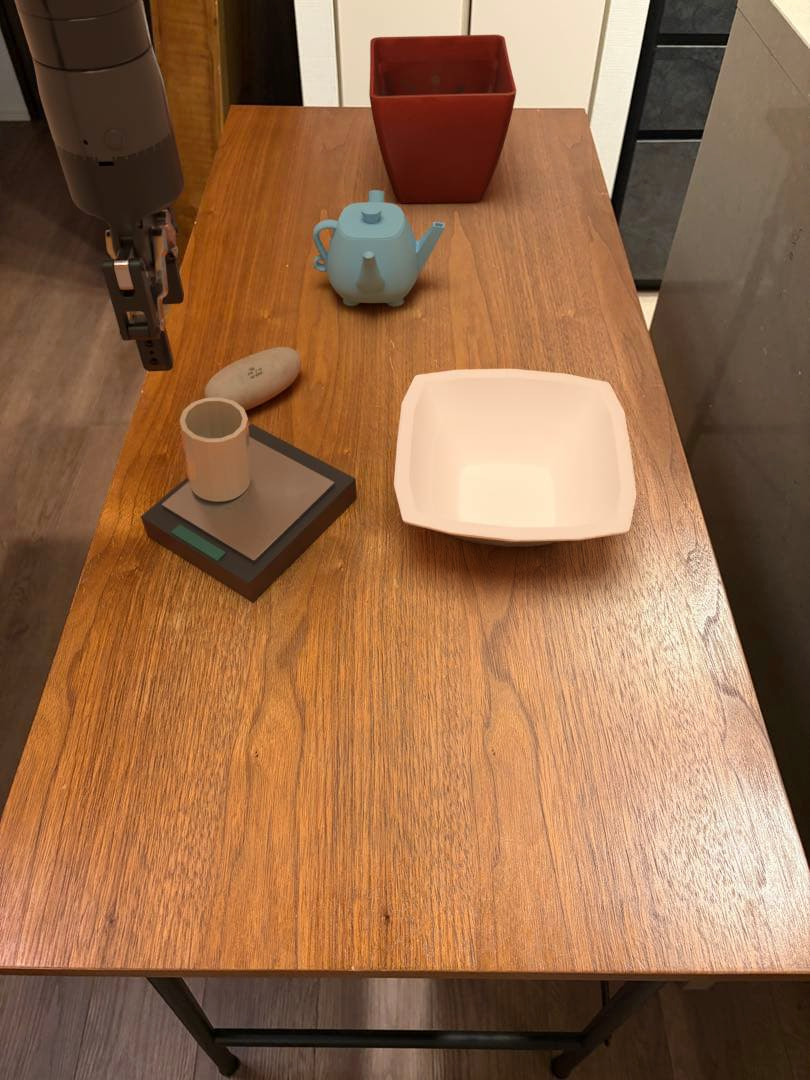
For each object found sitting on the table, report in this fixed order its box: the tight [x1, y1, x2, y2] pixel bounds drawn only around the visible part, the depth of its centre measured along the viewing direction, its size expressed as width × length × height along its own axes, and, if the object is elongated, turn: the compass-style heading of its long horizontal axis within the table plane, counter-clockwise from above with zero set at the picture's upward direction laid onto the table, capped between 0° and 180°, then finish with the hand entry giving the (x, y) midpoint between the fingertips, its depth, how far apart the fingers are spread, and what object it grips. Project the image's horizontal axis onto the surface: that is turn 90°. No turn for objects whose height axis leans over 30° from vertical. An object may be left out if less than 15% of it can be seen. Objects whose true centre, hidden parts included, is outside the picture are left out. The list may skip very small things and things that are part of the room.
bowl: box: [393, 368, 638, 548], centre depth 83 cm, size 22×23×8 cm
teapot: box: [312, 189, 446, 307], centre depth 106 cm, size 15×14×11 cm
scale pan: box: [162, 437, 335, 564], centre depth 83 cm, size 12×12×1 cm
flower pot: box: [368, 34, 517, 204], centre depth 121 cm, size 19×19×17 cm
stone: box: [204, 346, 302, 412], centre depth 95 cm, size 6×6×12 cm
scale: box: [140, 423, 358, 603], centre depth 84 cm, size 16×14×3 cm
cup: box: [179, 397, 251, 502], centre depth 80 cm, size 6×6×8 cm
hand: (165, 333), depth 67 cm, fingers open, 8 cm apart
